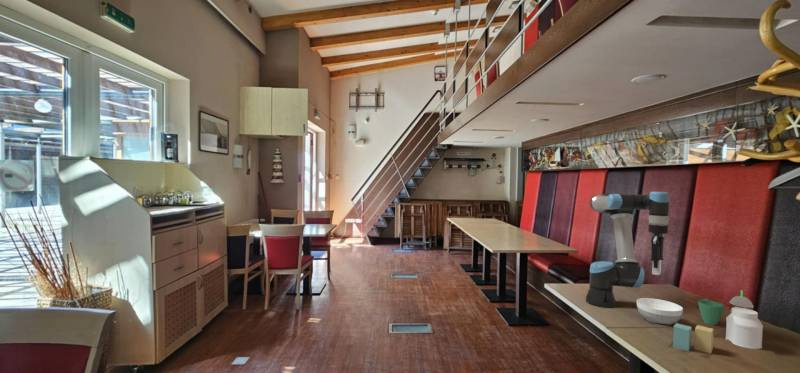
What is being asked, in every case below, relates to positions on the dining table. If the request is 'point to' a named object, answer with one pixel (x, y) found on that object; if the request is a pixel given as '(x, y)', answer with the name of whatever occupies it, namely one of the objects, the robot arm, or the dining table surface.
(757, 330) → the jar
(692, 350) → the board
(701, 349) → the pale yellow block
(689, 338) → the teal rectangular block
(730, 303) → the smoothie
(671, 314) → the bowl
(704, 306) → the mug
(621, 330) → the dining table surface
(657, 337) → the dining table surface
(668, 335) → the dining table surface
